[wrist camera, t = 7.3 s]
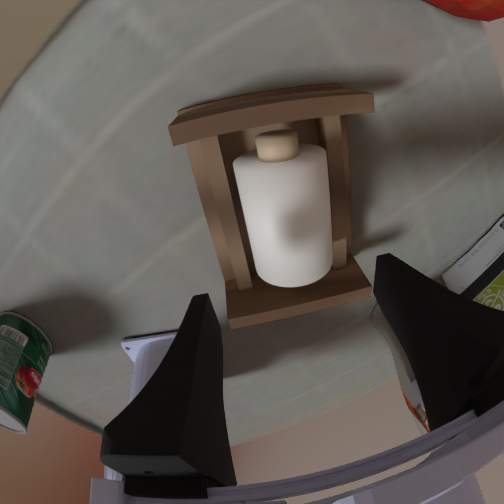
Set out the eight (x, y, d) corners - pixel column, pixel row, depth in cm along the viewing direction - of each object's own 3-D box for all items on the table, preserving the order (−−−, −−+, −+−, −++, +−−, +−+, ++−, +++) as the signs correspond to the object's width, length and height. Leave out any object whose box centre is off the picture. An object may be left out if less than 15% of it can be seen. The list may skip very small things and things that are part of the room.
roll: (316, 246, 22) (345, 287, 18) (252, 263, 22) (268, 310, 18) (303, 120, 17) (341, 135, 13) (223, 136, 17) (235, 156, 12)
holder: (346, 259, 24) (370, 299, 20) (228, 285, 24) (231, 331, 20) (336, 83, 16) (372, 88, 12) (179, 109, 16) (166, 121, 12)
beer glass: (383, 280, 26) (462, 415, 14) (432, 281, 27) (508, 392, 15) (357, 331, 30) (409, 456, 17) (405, 328, 31) (460, 434, 19)
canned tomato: (62, 360, 28) (40, 441, 19) (15, 353, 27) (-10, 423, 18) (35, 312, 24) (-3, 402, 15) (-13, 308, 23) (-51, 383, 14)
